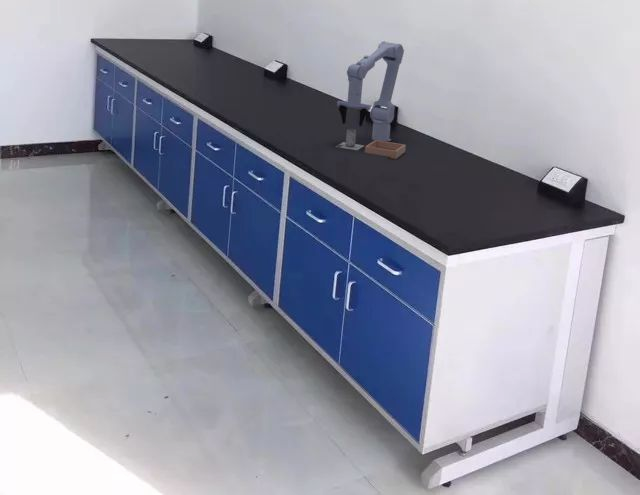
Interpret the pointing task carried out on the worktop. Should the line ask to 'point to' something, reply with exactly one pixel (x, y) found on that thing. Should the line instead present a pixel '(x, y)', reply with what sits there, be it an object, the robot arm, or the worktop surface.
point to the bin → (385, 152)
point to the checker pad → (357, 147)
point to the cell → (350, 138)
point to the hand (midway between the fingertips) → (352, 124)
